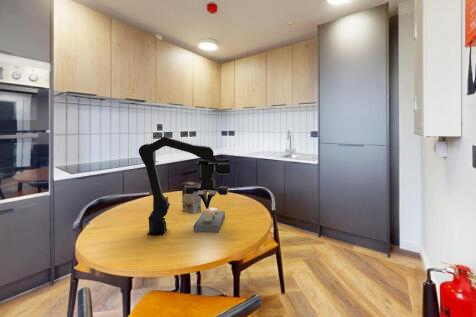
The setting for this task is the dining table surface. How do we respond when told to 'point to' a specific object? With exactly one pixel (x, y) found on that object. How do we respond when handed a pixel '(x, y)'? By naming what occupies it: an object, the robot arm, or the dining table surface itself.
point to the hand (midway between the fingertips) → (207, 208)
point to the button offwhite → (213, 210)
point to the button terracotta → (211, 214)
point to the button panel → (210, 223)
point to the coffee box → (191, 199)
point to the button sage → (207, 218)
